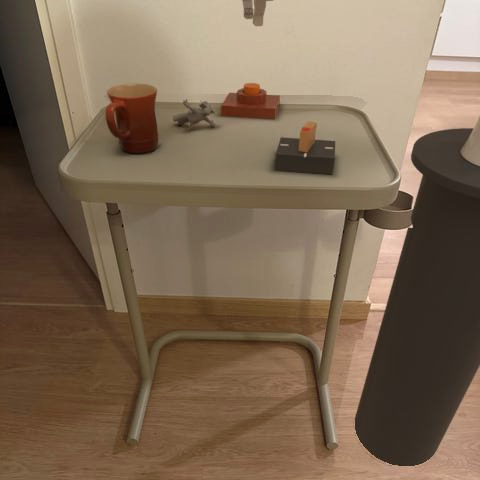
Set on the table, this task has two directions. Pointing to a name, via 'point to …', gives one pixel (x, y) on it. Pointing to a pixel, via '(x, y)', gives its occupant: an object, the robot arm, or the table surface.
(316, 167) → the panel
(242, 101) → the button box
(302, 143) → the tan upright tile
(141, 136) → the mug
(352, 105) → the table surface
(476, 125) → the robot arm
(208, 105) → the grey branched piece
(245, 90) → the button
